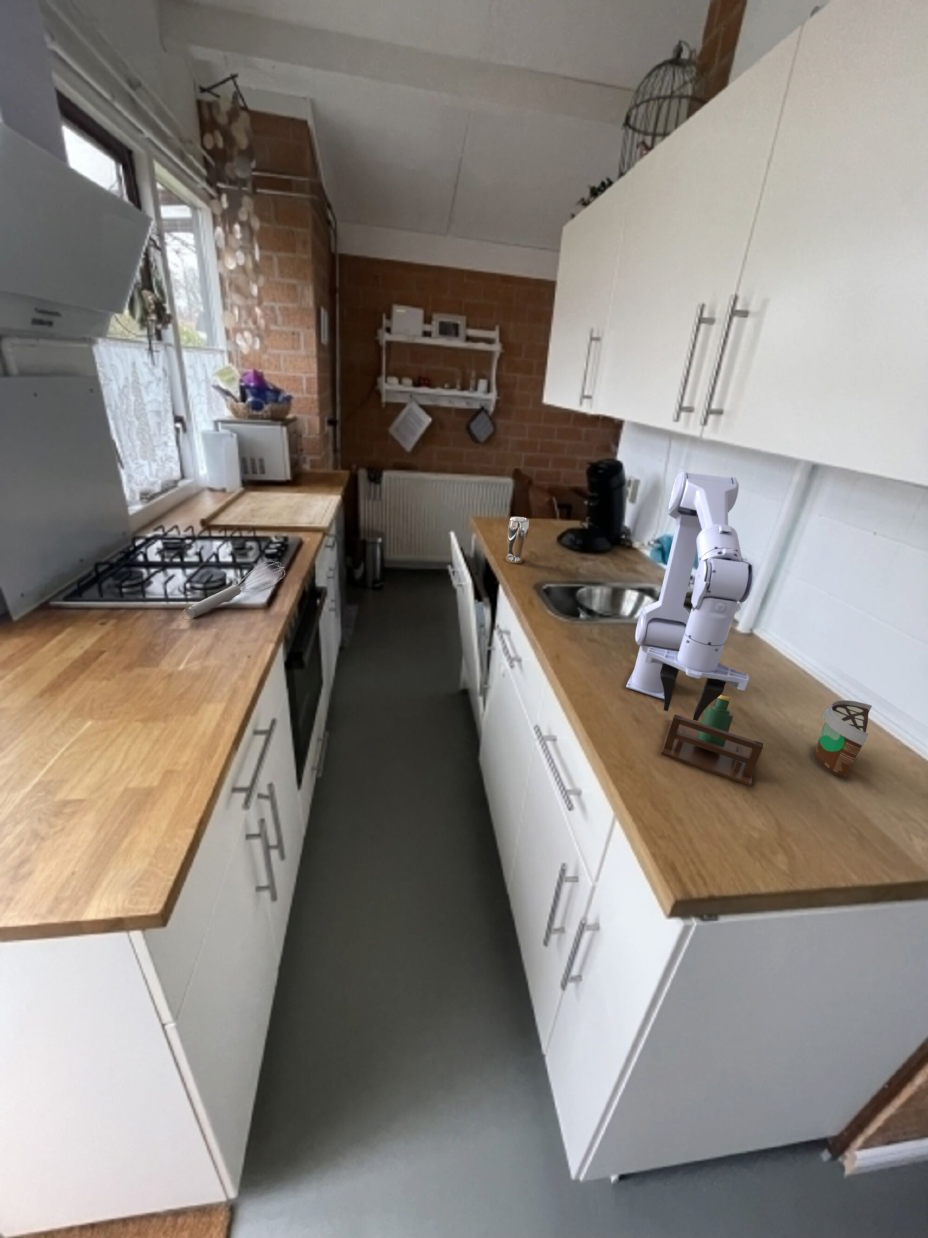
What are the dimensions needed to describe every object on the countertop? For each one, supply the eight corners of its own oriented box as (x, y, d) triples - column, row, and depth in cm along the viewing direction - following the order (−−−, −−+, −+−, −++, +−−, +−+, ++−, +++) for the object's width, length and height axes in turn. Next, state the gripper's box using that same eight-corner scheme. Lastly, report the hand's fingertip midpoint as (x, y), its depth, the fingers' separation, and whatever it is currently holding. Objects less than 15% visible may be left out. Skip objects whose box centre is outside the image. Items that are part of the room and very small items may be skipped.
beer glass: (503, 562, 177) (508, 519, 171) (504, 556, 184) (510, 515, 177) (523, 565, 176) (529, 522, 170) (524, 559, 183) (530, 517, 177)
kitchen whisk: (172, 618, 118) (168, 593, 115) (273, 577, 147) (271, 556, 144) (193, 624, 116) (189, 599, 113) (290, 581, 145) (289, 560, 142)
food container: (811, 735, 97) (831, 690, 93) (849, 750, 93) (872, 704, 89) (801, 766, 88) (823, 718, 84) (843, 784, 85) (868, 735, 80)
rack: (669, 722, 97) (679, 691, 94) (751, 749, 91) (764, 717, 88) (660, 754, 88) (671, 720, 85) (750, 786, 82) (764, 752, 79)
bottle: (695, 738, 92) (710, 691, 91) (722, 747, 90) (736, 699, 90) (696, 741, 88) (711, 692, 87) (724, 751, 86) (739, 701, 86)
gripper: (650, 633, 76) (630, 709, 82) (758, 662, 70) (728, 742, 76) (658, 617, 82) (638, 689, 87) (758, 643, 76) (730, 718, 81)
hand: (680, 712), depth 82 cm, fingers open, 4 cm apart
